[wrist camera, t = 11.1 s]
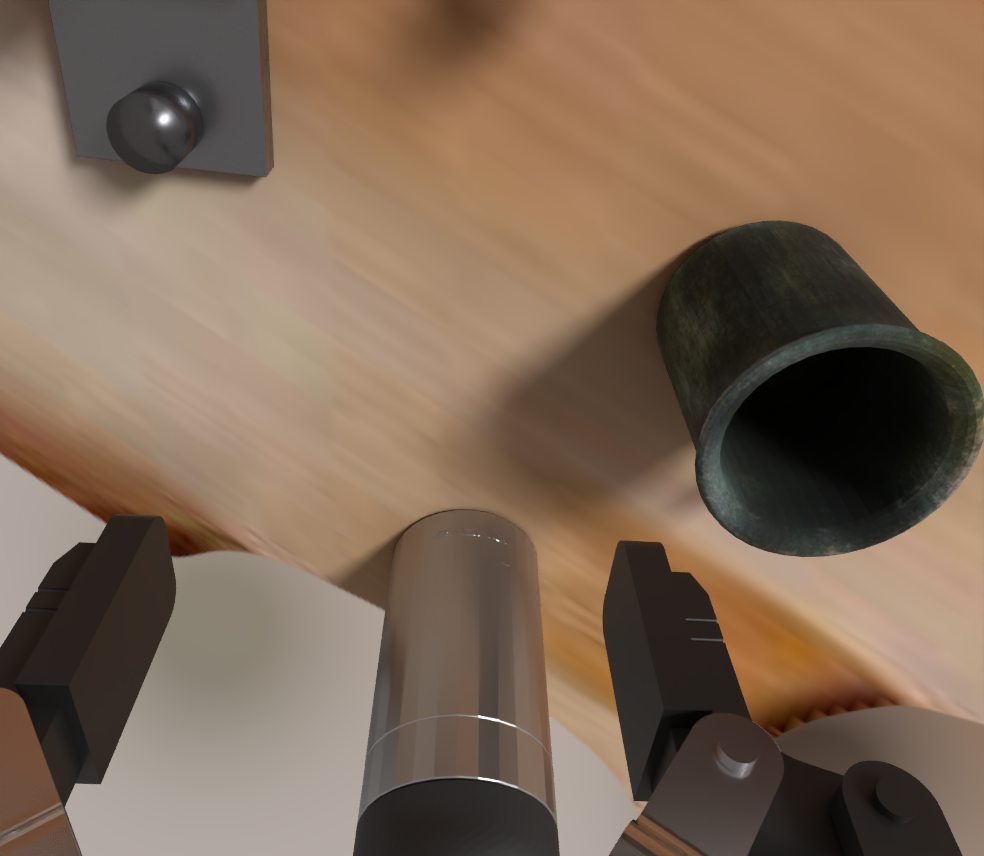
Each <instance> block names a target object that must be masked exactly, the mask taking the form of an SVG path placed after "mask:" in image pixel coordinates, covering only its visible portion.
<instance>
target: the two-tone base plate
mask: <svg viewBox="0 0 984 856" xmlns="http://www.w3.org/2000/svg"><path fill="white" fill-rule="evenodd" d="M48 2H49V7H50V13H51V18H52V23H53V29H54V34H55V39H56V45H57V50H58V55H59V61H60V66H61V72H62V77H63V82H64V88H65V93H66V98H67V104H68V109H69V114H70V120H71V125H72V130H73V136H74V141H75V146H76V152H77V156H80V157H89V158H98V159H107V160H116V161H124V162H126V163H127V164H128V165H130V166H131V167H133V168H135V169H137V170H139V171H141V172H145V173H150V174H161V173H165V172H168V171H170V170H172V169H174V168H175V167H179V168H188V169H197V170H206V171H215V172H224V173H233V174H242V175H251V176H260V177H267V175H268V174H269V172H270V171H271V170H272V168H273V167H274V162H273V140H272V117H271V95H270V72H269V50H268V28H267V5H266V0H48Z"/></svg>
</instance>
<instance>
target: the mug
mask: <svg viewBox="0 0 984 856" xmlns="http://www.w3.org/2000/svg"><path fill="white" fill-rule="evenodd" d="M657 337H658V344H659V347H660V351H661V354H662V357H663V360H664V363H665V365H666V368H667V371H668V374H669V377H670V379H671V382H672V385H673V388H674V391H675V393H676V396H677V399H678V402H679V404H680V407H681V410H682V413H683V416H684V418H685V421H686V424H687V427H688V430H689V432H690V435H691V438H692V441H693V443H694V446H695V449H696V459H695V471H696V482H697V485H698V488H699V492H700V495H701V498H702V500H703V501H704V503H705V505H706V507H707V509H708V510H709V512H710V513H711V514H712V515H713V517H714V518H715V519H716V520H717V521H718V522H719V524H720V525H721V526H722V527H723V528H725V529H726V530H727V531H728V532H730V533H731V534H732V535H733V536H735V537H736V538H738V539H740V540H742V541H743V542H745V543H747V544H749V545H751V546H754V547H757V548H759V549H762V550H765V551H768V552H773V553H777V554H782V555H788V556H799V557H819V556H830V555H837V554H844V553H849V552H853V551H857V550H861V549H865V548H867V547H870V546H873V545H876V544H879V543H881V542H884V541H886V540H888V539H891V538H893V537H895V536H897V535H899V534H901V533H903V532H905V531H906V530H908V529H910V528H911V527H913V526H915V525H916V524H918V523H919V522H921V521H923V520H924V519H925V518H926V517H928V516H929V515H930V514H931V513H933V512H934V511H935V510H937V509H938V508H939V507H940V506H941V505H942V504H943V503H944V502H945V501H946V500H947V499H948V498H949V497H950V496H951V495H952V494H953V493H954V492H955V491H956V489H957V488H958V487H959V486H960V484H961V483H962V482H963V480H964V479H965V478H966V476H967V475H968V473H969V471H970V469H971V468H972V466H973V464H974V462H975V461H976V458H977V456H978V453H979V450H980V448H981V445H982V442H983V437H984V398H983V394H982V390H981V386H980V384H979V382H978V380H977V378H976V376H975V374H974V372H973V370H972V369H971V368H970V366H969V365H968V364H967V363H966V362H965V360H964V359H963V358H962V357H961V356H960V355H959V354H958V353H957V352H955V351H954V350H953V349H952V348H950V347H949V346H948V345H946V344H945V343H943V342H941V341H939V340H937V339H935V338H933V337H931V336H929V335H927V334H925V333H922V332H920V331H919V330H918V329H917V328H916V327H915V326H914V325H913V324H912V322H911V321H910V320H909V319H908V318H907V317H906V316H905V315H904V314H903V313H902V312H901V311H900V310H899V308H898V307H897V306H896V305H895V304H894V303H893V302H892V301H891V300H890V299H889V298H888V297H887V296H886V294H885V293H884V292H883V291H882V290H881V289H880V288H879V287H878V286H877V285H876V284H875V283H874V282H873V280H872V279H871V278H870V277H869V276H868V275H867V274H866V273H865V272H864V271H863V270H862V269H861V268H860V266H859V265H858V264H857V263H856V262H855V261H854V260H853V259H852V258H851V257H850V256H849V255H848V254H847V252H846V251H845V250H844V249H843V248H842V247H841V246H840V245H839V244H838V243H837V242H836V241H834V240H833V239H832V238H830V237H829V236H828V235H827V234H825V233H823V232H821V231H819V230H817V229H815V228H813V227H810V226H807V225H803V224H800V223H796V222H788V221H762V222H756V223H751V224H746V225H743V226H740V227H737V228H734V229H731V230H728V231H726V232H724V233H722V234H720V235H718V236H716V237H714V238H713V239H711V240H710V241H708V242H707V243H705V244H704V245H702V246H701V247H699V248H698V249H697V250H696V251H695V252H694V253H693V254H692V255H691V256H689V257H688V258H687V259H686V260H685V261H684V263H683V264H682V265H681V266H680V268H679V269H678V270H677V271H676V272H675V274H674V276H673V277H672V279H671V280H670V282H669V284H668V285H667V287H666V290H665V292H664V295H663V297H662V299H661V303H660V307H659V311H658V316H657Z"/></svg>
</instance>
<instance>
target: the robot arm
mask: <svg viewBox="0 0 984 856" xmlns="http://www.w3.org/2000/svg"><path fill="white" fill-rule="evenodd" d="M175 595H176V579H175V573H174V568H173V563H172V557H171V552H170V547H169V541H168V536H167V531H166V526H165V522H164V520H163V518H162V517H160V516H145V515H125V514H115V515H114V516H112V517H111V519H110V520H109V522H108V523H107V525H106V527H105V529H104V530H103V532H102V534H101V536H100V537H99V539H98V541H97V542H96V543H80V542H79V543H78V544H77V545H76V546H74V547H73V548H72V549H71V550H70V551H68V552H67V553H66V554H64V555H63V556H62V557H61V558H59V559H58V560H57V561H56V562H54V563H53V565H52V567H51V568H50V570H49V571H48V573H47V574H46V576H45V577H44V579H43V581H42V582H41V584H40V585H39V587H38V592H35V594H34V595H33V597H32V598H31V600H30V602H29V603H28V605H27V607H26V611H25V612H23V613H22V614H21V616H20V617H19V619H18V620H17V622H16V624H15V625H14V627H13V628H12V630H11V632H10V633H9V635H8V637H7V638H6V640H5V641H4V643H3V644H2V646H1V648H0V856H82V854H81V851H80V848H79V846H78V843H77V840H76V837H75V835H74V832H73V829H72V826H71V824H70V821H69V818H68V815H67V813H66V810H65V805H66V803H67V800H68V798H69V796H70V794H71V791H72V789H73V787H74V785H75V783H82V784H101V782H102V780H103V777H104V775H105V772H106V770H107V768H108V765H109V763H110V761H111V758H112V756H113V753H114V751H115V749H116V746H117V744H118V741H119V739H120V737H121V734H122V732H123V729H124V727H125V724H126V722H127V720H128V717H129V715H130V712H131V710H132V708H133V705H134V703H135V701H136V698H137V696H138V694H139V691H140V689H141V686H142V684H143V682H144V679H145V677H146V674H147V672H148V670H149V667H150V665H151V662H152V660H153V658H154V655H155V653H156V650H157V648H158V645H159V643H160V641H161V638H162V636H163V634H164V631H165V628H166V627H167V624H168V622H169V619H170V617H171V614H172V611H173V607H174V603H175ZM716 619H717V618H716V616H715V613H714V610H713V607H712V604H711V601H710V598H709V595H708V594H707V592H706V591H705V590H704V589H703V588H702V587H701V585H700V584H699V583H698V582H697V581H696V580H695V578H694V577H693V576H692V575H691V574H690V573H686V572H671V569H670V566H669V563H668V559H667V556H666V553H665V549H664V547H663V545H662V544H661V543H660V542H642V541H619V542H618V544H617V547H616V551H615V555H614V560H613V564H612V568H611V573H610V577H609V581H608V586H607V590H606V594H605V599H604V605H603V633H604V639H605V644H606V650H607V655H608V661H609V667H610V672H611V678H612V683H613V689H614V694H615V700H616V705H617V711H618V716H619V722H620V727H621V733H622V738H623V744H624V749H625V755H626V760H627V766H628V771H629V777H630V782H631V788H632V793H633V799H634V801H648V803H647V804H646V806H645V808H644V809H643V811H642V812H641V814H640V816H639V817H638V818H637V820H636V821H635V820H632V821H631V822H630V823H629V825H628V826H627V827H626V828H625V830H624V831H623V833H622V835H621V837H620V838H619V839H618V842H617V843H616V844H615V846H614V848H613V849H612V851H611V853H610V854H609V856H962V854H961V851H960V849H959V847H958V845H957V843H956V841H955V838H954V836H953V834H952V832H951V830H950V827H949V825H948V823H947V821H946V819H945V817H944V815H943V812H942V810H941V808H940V806H939V805H938V802H937V801H936V799H935V798H934V797H933V795H932V794H931V792H930V791H929V790H928V789H927V788H926V787H925V786H924V785H923V784H922V783H921V782H920V781H919V780H917V779H916V778H915V777H913V776H912V775H911V774H909V773H908V772H906V771H904V770H902V769H900V768H898V767H896V766H894V765H891V764H888V763H885V762H880V761H863V762H859V763H857V764H854V765H853V766H851V767H850V768H849V769H848V770H847V772H846V773H845V775H844V776H843V775H840V774H837V773H834V772H831V771H828V770H825V769H822V768H819V767H816V766H813V765H810V764H807V763H804V762H801V761H799V760H796V759H793V758H792V757H790V756H788V755H786V754H784V753H783V752H781V751H780V750H779V748H778V746H777V744H776V743H775V741H774V740H773V738H772V737H771V736H770V735H769V734H768V733H767V732H766V731H765V730H764V729H763V728H761V727H760V726H759V725H757V724H756V723H754V722H753V721H752V719H751V717H750V715H749V712H748V709H747V706H746V703H745V700H744V697H743V694H742V691H741V689H740V686H739V683H738V680H737V677H736V674H735V671H734V668H733V665H732V662H731V659H730V656H729V654H728V651H727V648H726V645H725V643H723V636H722V633H721V630H720V627H719V624H718V623H716ZM353 856H560V854H559V841H558V829H557V814H556V802H555V788H554V774H553V766H552V752H551V739H550V725H549V712H548V699H547V685H546V672H545V658H544V645H543V632H542V618H541V602H540V590H539V578H538V566H537V554H536V551H535V549H534V546H533V543H532V542H531V541H530V539H529V538H528V536H527V535H526V534H525V533H524V532H523V531H522V530H521V529H520V528H518V527H517V526H516V525H515V524H513V523H511V522H509V521H508V520H506V519H504V518H502V517H499V516H496V515H493V514H490V513H487V512H481V511H474V510H454V511H448V512H441V513H438V514H435V515H432V516H429V517H426V518H424V519H423V520H421V521H419V522H417V523H416V524H414V525H413V526H411V527H410V528H409V529H408V530H407V531H406V532H405V533H404V534H403V535H402V537H401V538H400V539H399V541H398V542H397V544H396V547H395V550H394V553H393V559H392V567H391V574H390V582H389V589H388V597H387V602H386V610H385V618H384V625H383V632H382V640H381V648H380V655H379V663H378V670H377V678H376V685H375V692H374V700H373V708H372V715H371V723H370V730H369V737H368V746H367V753H366V760H365V770H364V778H363V785H362V793H361V800H360V808H359V815H358V823H357V830H356V838H355V845H354V852H353Z"/></svg>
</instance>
